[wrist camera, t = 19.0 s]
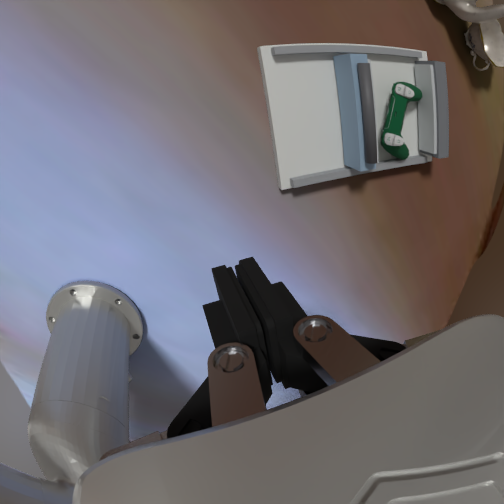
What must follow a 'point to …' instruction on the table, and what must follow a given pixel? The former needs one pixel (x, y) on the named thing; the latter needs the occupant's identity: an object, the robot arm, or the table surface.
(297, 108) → the vise base
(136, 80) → the table surface
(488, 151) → the table surface
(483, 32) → the chinaware
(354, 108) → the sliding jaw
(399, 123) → the gaming controller
